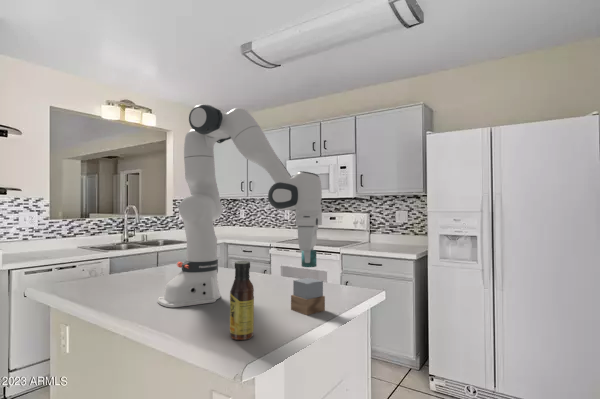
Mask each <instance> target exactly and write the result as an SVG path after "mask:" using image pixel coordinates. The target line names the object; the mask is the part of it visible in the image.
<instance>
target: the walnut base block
mask: <svg viewBox="0 0 600 399" xmlns="http://www.w3.org/2000/svg"><path fill="white" fill-rule="evenodd" d="M325 306H326V296H325V295H323V296H321V297H317V298H312V299H304V298H300V297H297V296H294V295H293V294H292V295H291V294H290V310H291V311H294V312H297V313H300V314H303V315H306V316H310V315H313V314H318V313H321V312H324V311H325V310H326V307H325Z"/></svg>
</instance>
